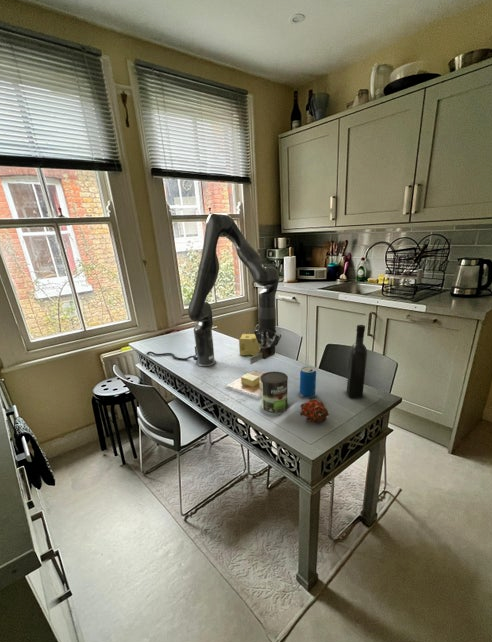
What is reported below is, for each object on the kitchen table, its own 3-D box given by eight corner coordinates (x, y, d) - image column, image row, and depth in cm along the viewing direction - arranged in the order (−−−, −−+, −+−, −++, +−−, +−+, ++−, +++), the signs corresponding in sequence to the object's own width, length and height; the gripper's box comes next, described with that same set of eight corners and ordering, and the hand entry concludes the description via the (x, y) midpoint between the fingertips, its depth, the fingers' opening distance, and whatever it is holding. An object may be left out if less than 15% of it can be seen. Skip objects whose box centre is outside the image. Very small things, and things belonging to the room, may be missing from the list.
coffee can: (292, 411, 122) (292, 379, 117) (268, 418, 119) (267, 385, 113) (280, 399, 131) (279, 369, 125) (257, 406, 127) (256, 374, 122)
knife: (248, 363, 134) (248, 352, 132) (270, 353, 145) (270, 342, 143) (253, 365, 132) (252, 353, 130) (275, 354, 144) (275, 344, 142)
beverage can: (311, 400, 130) (312, 373, 125) (297, 396, 133) (297, 370, 128) (317, 393, 135) (318, 367, 130) (303, 390, 138) (304, 365, 133)
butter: (241, 382, 144) (240, 376, 143) (247, 379, 147) (247, 373, 146) (253, 386, 140) (252, 380, 138) (259, 382, 143) (259, 376, 142)
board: (226, 388, 143) (226, 385, 142) (254, 372, 157) (254, 369, 156) (257, 399, 132) (257, 396, 132) (284, 381, 146) (284, 378, 146)
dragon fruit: (325, 432, 112) (302, 421, 122) (337, 412, 114) (313, 404, 124) (314, 420, 107) (290, 410, 117) (327, 399, 110) (302, 391, 119)
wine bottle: (345, 391, 135) (351, 323, 123) (359, 391, 135) (366, 323, 122) (349, 398, 130) (355, 328, 117) (363, 398, 129) (371, 327, 117)
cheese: (257, 356, 176) (256, 339, 172) (238, 355, 178) (237, 338, 174) (260, 349, 185) (260, 333, 181) (242, 349, 188) (242, 333, 183)
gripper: (285, 316, 133) (285, 354, 140) (259, 311, 141) (260, 348, 148) (275, 320, 127) (275, 359, 135) (248, 315, 135) (250, 353, 143)
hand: (267, 353), depth 141 cm, fingers closed on knife, 2 cm apart
